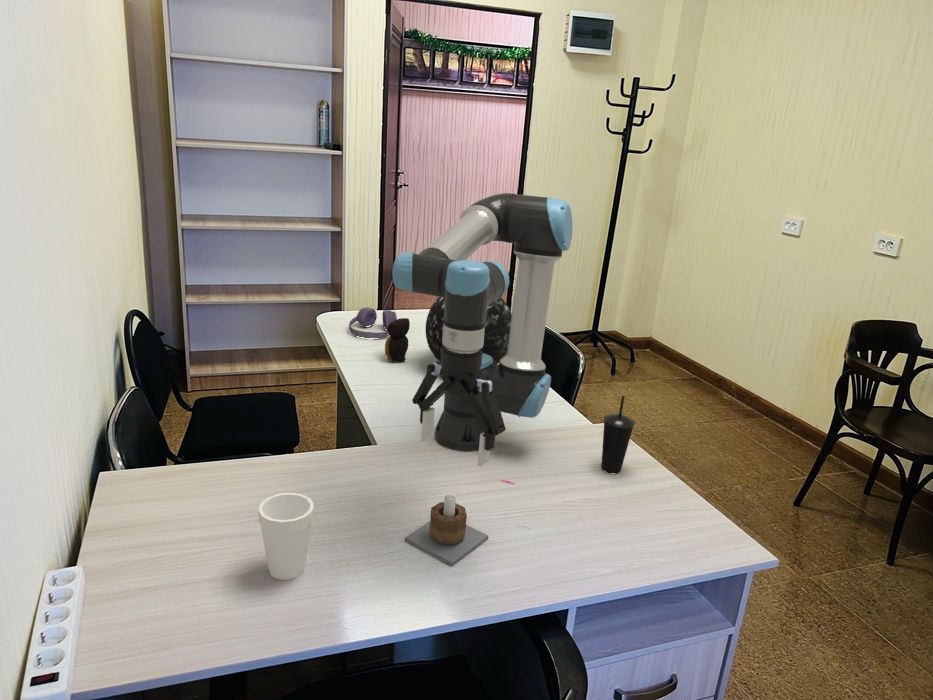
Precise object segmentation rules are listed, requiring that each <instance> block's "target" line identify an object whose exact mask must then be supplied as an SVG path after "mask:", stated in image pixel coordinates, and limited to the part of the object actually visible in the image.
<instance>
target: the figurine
mask: <svg viewBox="0 0 933 700" xmlns="http://www.w3.org/2000/svg"><path fill="white" fill-rule="evenodd" d="M409 330H410V319H409V318H406V317H403V318H402V317H401V318H397V320H394V321H392V322H391V323H390V324H389V325H388V327H387V330H386V332H388V333H389V335H390V336H388V337H387V338H386V340H385V344H384V353H385V355H386V357H387V360H388V359H389V360H388V361H390V362H395V363H396V362H397V363H401V362H405V361H406V354H407V352H408V349H409V338H408V337H407V334H408V332H409Z"/></svg>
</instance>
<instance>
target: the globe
mask: <svg viewBox="0 0 933 700" xmlns="http://www.w3.org/2000/svg"><path fill="white" fill-rule="evenodd" d="M444 305H445V297H439V296H438V297H437V298H436V300H435V301H434V302H433V304H432V305H431V307H430V309H429V311H428V314H427V317H426V321H425V338H426V342H427V345H428V347H429V350H430V352H431V354H432V355H433V357H434V358H435V359H436V360H437V361H438V362H440V364H441V350H442V347H443V346H444V345H443V344H442V337H443V320H444ZM511 317H512V311H511V310H510V307H509V306H508V304H507V303H506V301H505V300H504V298H502V297H501V298H500V299H498V300H497V301H494V302H493V303H491V304H490V305H488V306H487V308H486V318H485V331H484V344H483V347H482V348H481V349H482V351H483V354H487V355H490V356H491V357H492V359H493V364H497V365H499V363H500V359H501V358H503V357H504V356H505V355H506V354H507V348H508V340H509V332H510V325H511Z"/></svg>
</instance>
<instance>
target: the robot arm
mask: <svg viewBox="0 0 933 700" xmlns="http://www.w3.org/2000/svg"><path fill="white" fill-rule="evenodd" d="M572 237H573V214H572V209H571V206H570V204H569V203H568V202H567V200H564V199H560V198H559V199H558V198H555V197H552V196H551V197H547V196H546V197H545V196H536V195H526V194H517V193H509V192H506V193H503V192H502V193H498V194H494V195H490V196H488V197H487V196H486V197H484V198H482V199H479V200H478V201H476V202H473V203H472V204H471V205H469V206H468V207H467V208H466V209H464V211H463V212H462V213H461V214H460V217H459V220H458V221H457V222H455V223H454V224H453V225H452V226H450V227H449V228H448V229H447V230H446V231H445V232H443V233H442V234H441V235H440V236H438V237H437V238H436V239H435V240H433V241H432V242H431V243H430V244H429V245H427V246H426V247H425V248H424V249H423V250H422V251H420V252H419V253H414V252H401V253H399V254H398V255H397V256H396V258H395V260H394V261H393V262H394V263H393V265H392V282H393V285H394V286H395V288H397V289H398V290H401V291H405V292H410V293H412V294H421V295H426V296H427V295H428V296H435V297H438V298H439V297H445V305H444V320H443V337H442V344H443V345H444V346H443V347H442V350H441V363H440V362H439V361H438V360H437V361H434V362H431V363H429V364H427V368H426V374H425V376H424V378H423V379H422V381H421V383H420V385H419V387H418V388H417V390H416V392H415V394H414V396H413V397H412V400H411V401H412V403H413V405H417V406H418V408H419V410H420V411H419V412H420V413H419V415H420V416H419V422H420V424H421V440H420V441H421V443H427V442H428V441H430V440H432V439H434V438H435V441H436V442H437V444H439V445H441V446H443V447H445V448H447V449H451V450H454V451H460V452H474V451H475V452H476V451H478V456H477V466H478V467H480V468H481V467H483V466H485V465H486V464H488V463H489V462H490V456H491V450H493V449H494V447H495V439H496V436H498V435H501V434H503V433H504V432H505V431H506V429H507V428H506V424H505V422H504V419H503V415H502V413H504V414H505V413H506V414H508V415H514V416H517V417H519V418H520V417H523V418H529V419H534V418H536V417H537V416H539V414H540V413H541V411H542V409H543V407H544V406H545V402H546V400H547V397H548V394H549V391H550V388H551V383H552V376H551V375H550V374H549V373H546V367H547V366H546V364H545V362H544V361H543V360H542V352H543V347H544V346H543V344H544V338H545V330H546V326H547V325H546V324H547V317H548V308H549V303H550V296H551V295H550V294H551V288H552V283H553V281H552V280H553V275H554V267H555V264H556V263H557V261H559V260H560V259H561V258H562V255H563V252H567V251H568V250H569V249H570V248H571V245H572V244H571V243H572V239H573V238H572ZM491 242H504V243H510V244H514V247H513V254H514V255H516V257H517V258H518V264H517V270H516V271H517V272H516V279H515V286H514V293H513V302H512V309H511V314H512V317H511V325H510V332H509V340H508V348H507V354H506V355H505V356H504V357H503V358H501V359H500V362H499V363H498V364H493V359H492V357H491V356H490V355H487V354H483V351H482V349H481V348H482V347H483V344H484V331H485V318H486V308H487V306H488V305H490V304H491V303H493V302H494V301H497V300H498V299H500V298H502V297H503V295H504V294H505V293H506V292H507V290H508V288H509V286H510V275H509V273H508V271H507V268H506V267H504V265H502V264H501V263H500V262H497V261H494V260H487V261H482V262H481V261H478V260H477V261H476V260H468V258H469V257H471V256H472V255H473V254H474V253H475V252H476V251H477V250H478V249H479V248H480V247H481V246H485V245H488V244H490V243H491ZM439 375H440V377H441V379H442V382H441V383H440V384H439V385H438V386H436V388H435V389H434V390H433V391H432V392H431V393H430V391H431V390H432V387H433V386H434V384H435V382H436V380H437V379H438V376H439ZM429 393H430V394H429ZM441 397H443V410H442V412H441V415H440V418H439V420H438V422H437V424H436V427H435V429H434V426H435V412H436V408H435V407H432V406H434V404H435V403H436V402H437V401H438V400H440V398H441ZM434 430H435V431H434Z"/></svg>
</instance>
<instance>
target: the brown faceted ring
mask: <svg viewBox="0 0 933 700" xmlns="http://www.w3.org/2000/svg"><path fill="white" fill-rule="evenodd" d="M443 512H444V501H442V502H441V501H440V502H438V503H436V504H435V505H434V506H432V507H431V508H430V517H429V521H430V535H431V538H432V539H434V540H436V541H438V542H440V543H457V542H459V541H460V540H461V539H463V538H464V537H465V530H466V525H467V511H466V508H465V506H462V505H460V504H459V503H457V502H455V514H454V517H444V516H443Z"/></svg>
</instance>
